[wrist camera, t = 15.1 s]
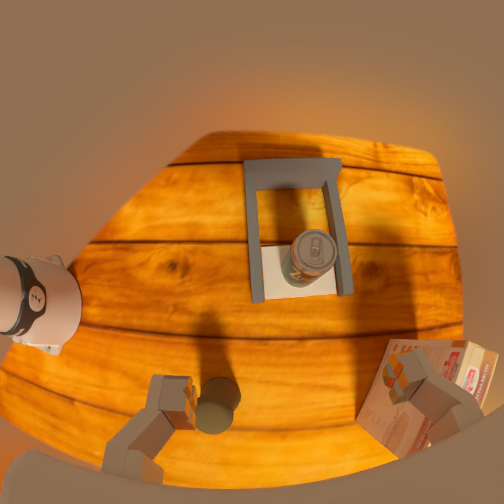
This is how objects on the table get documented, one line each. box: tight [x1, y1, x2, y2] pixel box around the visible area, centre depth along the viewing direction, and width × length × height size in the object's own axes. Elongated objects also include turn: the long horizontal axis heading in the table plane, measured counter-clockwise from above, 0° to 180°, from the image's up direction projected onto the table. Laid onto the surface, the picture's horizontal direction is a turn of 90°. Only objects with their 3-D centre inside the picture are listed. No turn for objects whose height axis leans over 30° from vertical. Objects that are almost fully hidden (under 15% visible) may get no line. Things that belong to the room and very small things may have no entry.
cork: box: [194, 377, 241, 434], centre depth 32 cm, size 6×6×11 cm
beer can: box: [282, 229, 337, 288], centre depth 36 cm, size 5×5×12 cm
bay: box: [244, 158, 354, 304], centre depth 40 cm, size 15×20×7 cm
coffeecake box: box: [355, 339, 499, 459], centre depth 27 cm, size 15×7×20 cm, turn 157°
